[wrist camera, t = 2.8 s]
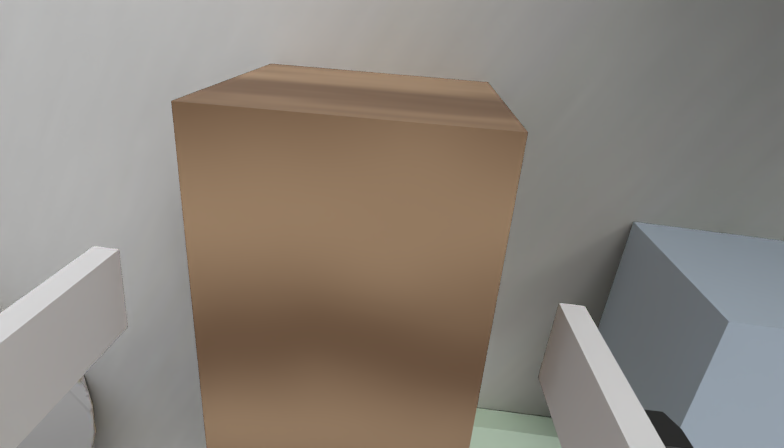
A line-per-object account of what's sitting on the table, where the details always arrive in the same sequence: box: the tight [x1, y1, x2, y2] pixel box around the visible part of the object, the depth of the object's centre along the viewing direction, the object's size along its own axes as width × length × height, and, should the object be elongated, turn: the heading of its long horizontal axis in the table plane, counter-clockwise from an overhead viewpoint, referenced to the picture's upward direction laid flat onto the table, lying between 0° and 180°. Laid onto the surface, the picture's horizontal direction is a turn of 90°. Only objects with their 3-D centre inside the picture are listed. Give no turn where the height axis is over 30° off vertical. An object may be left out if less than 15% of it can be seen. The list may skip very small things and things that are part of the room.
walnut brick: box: [171, 64, 528, 448], centre depth 17 cm, size 12×8×8 cm, turn 176°
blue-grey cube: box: [598, 222, 784, 448], centre depth 18 cm, size 7×7×7 cm
